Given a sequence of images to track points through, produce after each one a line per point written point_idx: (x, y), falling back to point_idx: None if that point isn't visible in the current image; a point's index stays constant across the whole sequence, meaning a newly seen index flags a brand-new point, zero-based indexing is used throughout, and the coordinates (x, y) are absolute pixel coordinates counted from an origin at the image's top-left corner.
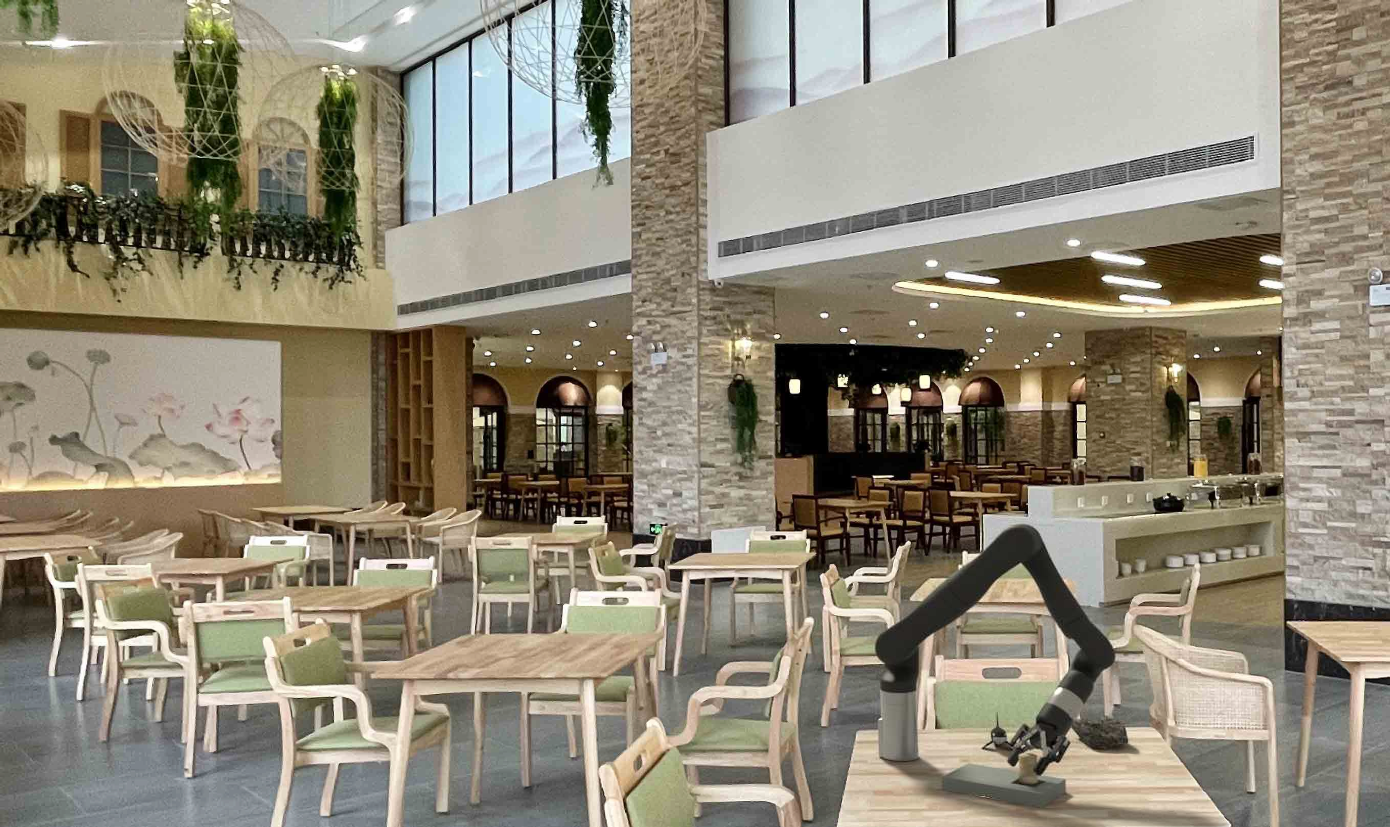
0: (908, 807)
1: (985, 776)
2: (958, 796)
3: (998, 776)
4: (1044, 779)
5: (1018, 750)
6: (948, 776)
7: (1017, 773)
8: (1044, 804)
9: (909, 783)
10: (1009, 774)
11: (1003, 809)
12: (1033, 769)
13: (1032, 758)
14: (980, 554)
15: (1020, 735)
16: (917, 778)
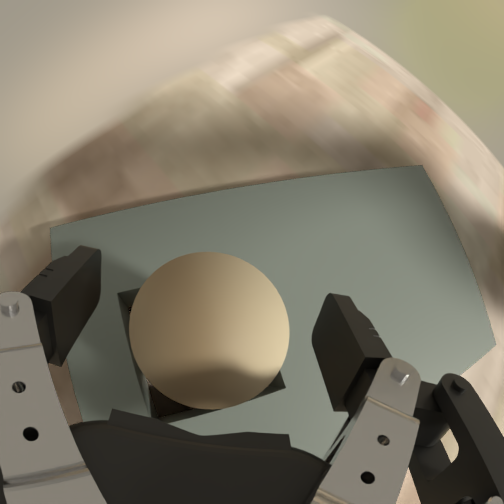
0: (319, 59)
1: (375, 264)
2: (335, 165)
3: None
4: None
5: (360, 379)
6: (419, 179)
7: (336, 417)
8: None
9: (459, 182)
10: None
11: (155, 152)
12: (95, 248)
13: (136, 299)
14: None
15: (469, 462)
16: (483, 226)
